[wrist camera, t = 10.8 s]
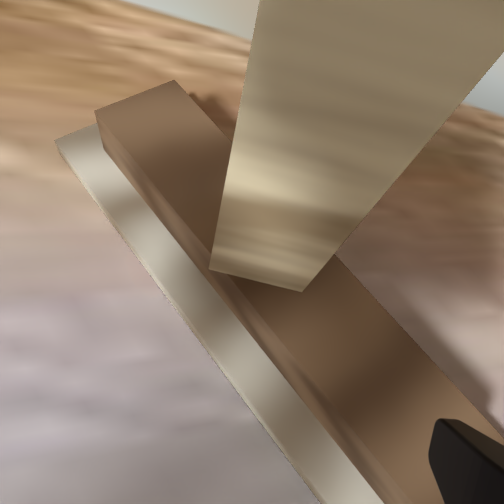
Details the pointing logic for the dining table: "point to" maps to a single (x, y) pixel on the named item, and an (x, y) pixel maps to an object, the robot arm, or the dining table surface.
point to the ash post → (339, 120)
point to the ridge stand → (271, 312)
